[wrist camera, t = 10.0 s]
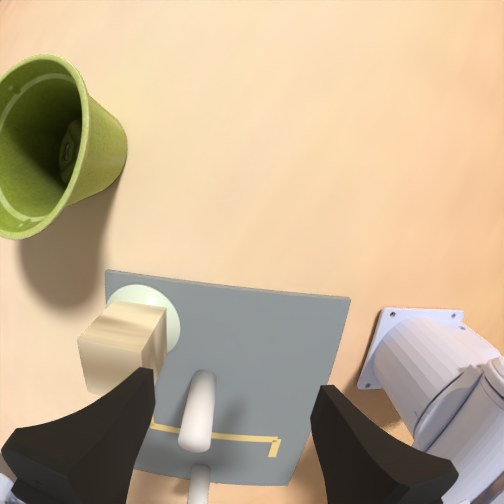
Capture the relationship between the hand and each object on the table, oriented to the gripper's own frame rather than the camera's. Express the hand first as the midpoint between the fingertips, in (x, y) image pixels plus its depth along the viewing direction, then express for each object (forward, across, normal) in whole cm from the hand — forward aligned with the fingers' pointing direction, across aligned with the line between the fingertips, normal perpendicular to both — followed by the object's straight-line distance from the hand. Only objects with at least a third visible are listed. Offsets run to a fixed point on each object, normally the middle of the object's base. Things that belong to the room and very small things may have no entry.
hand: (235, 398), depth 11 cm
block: (+9, +7, +2) cm, 12 cm away
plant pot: (+10, +12, -10) cm, 19 cm away
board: (+10, +1, +11) cm, 15 cm away
